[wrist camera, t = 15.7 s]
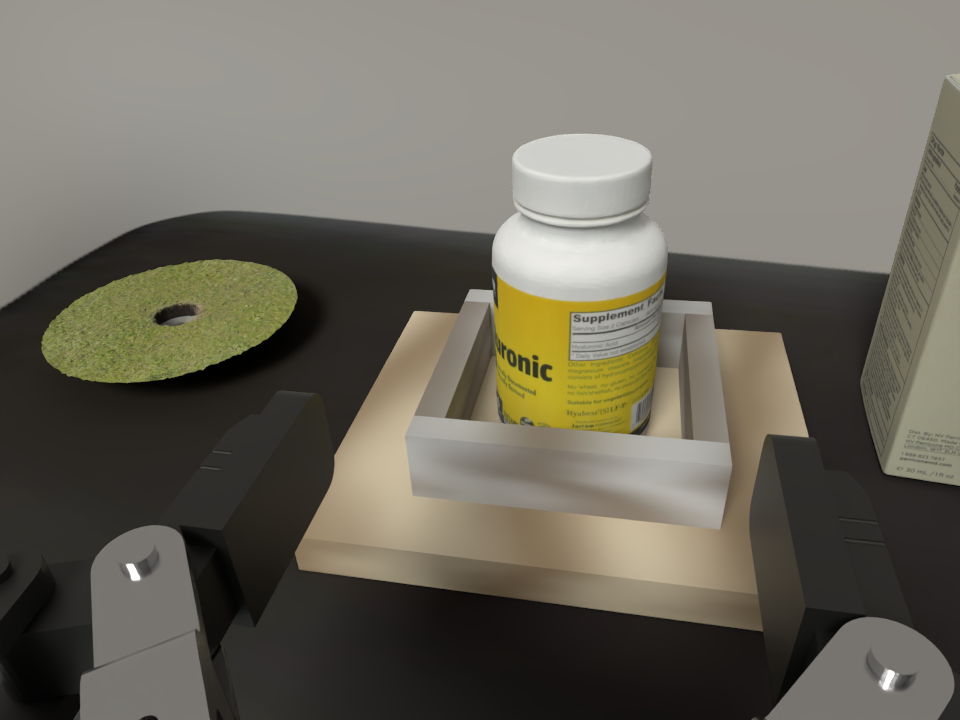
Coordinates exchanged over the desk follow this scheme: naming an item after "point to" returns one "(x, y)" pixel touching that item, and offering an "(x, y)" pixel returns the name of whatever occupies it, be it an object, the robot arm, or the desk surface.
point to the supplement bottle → (578, 287)
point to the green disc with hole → (169, 321)
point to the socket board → (560, 477)
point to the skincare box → (922, 320)
